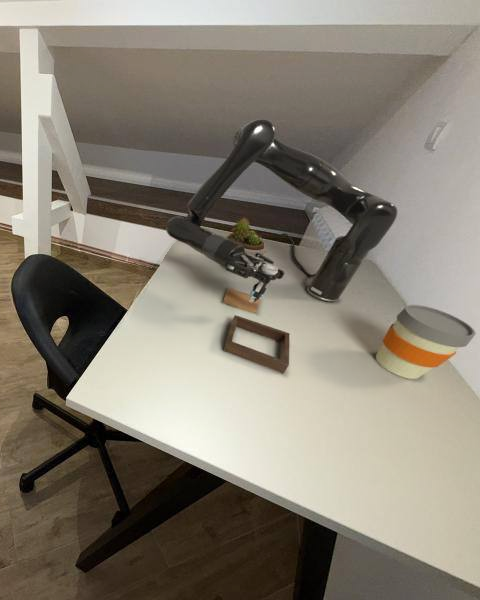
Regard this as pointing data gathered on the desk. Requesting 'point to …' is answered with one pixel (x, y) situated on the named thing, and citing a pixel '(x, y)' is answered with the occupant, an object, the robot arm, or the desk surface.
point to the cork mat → (240, 300)
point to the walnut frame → (255, 355)
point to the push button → (260, 286)
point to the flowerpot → (247, 238)
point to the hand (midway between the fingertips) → (276, 278)
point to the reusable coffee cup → (422, 341)
